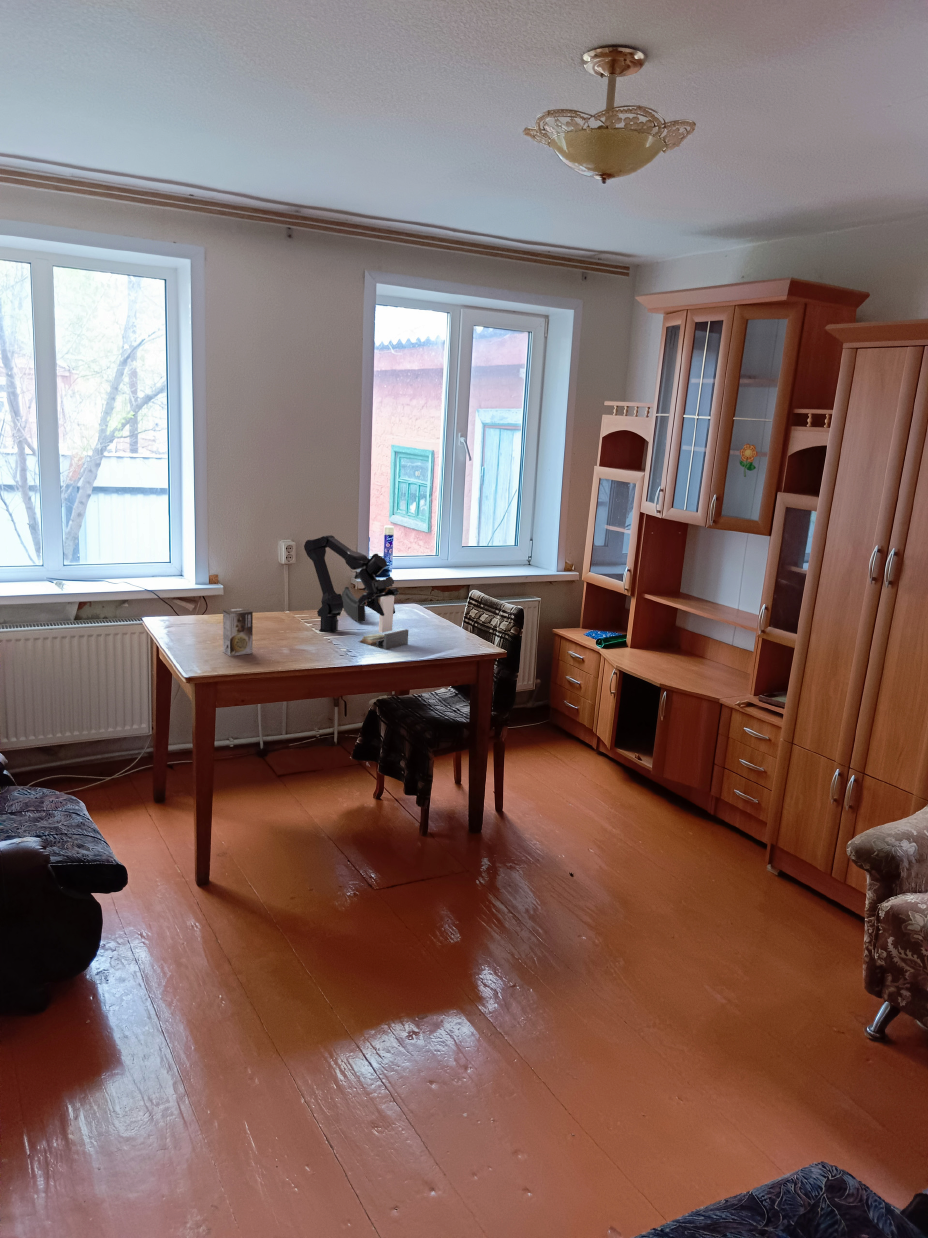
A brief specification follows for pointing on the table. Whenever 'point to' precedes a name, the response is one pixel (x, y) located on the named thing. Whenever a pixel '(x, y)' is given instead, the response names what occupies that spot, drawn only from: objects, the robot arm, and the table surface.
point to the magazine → (352, 606)
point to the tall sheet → (386, 613)
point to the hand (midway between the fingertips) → (389, 614)
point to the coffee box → (237, 631)
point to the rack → (392, 640)
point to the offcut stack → (372, 638)
